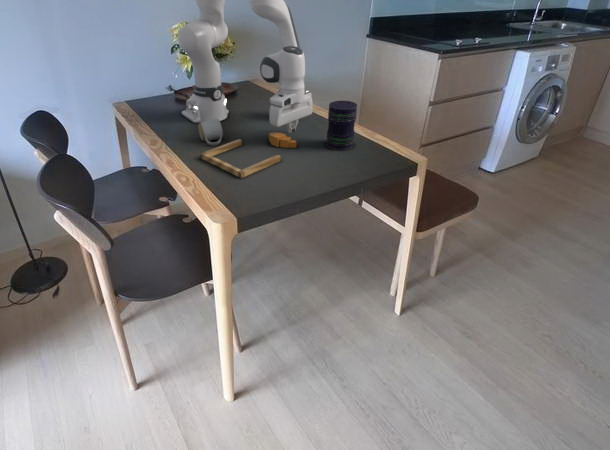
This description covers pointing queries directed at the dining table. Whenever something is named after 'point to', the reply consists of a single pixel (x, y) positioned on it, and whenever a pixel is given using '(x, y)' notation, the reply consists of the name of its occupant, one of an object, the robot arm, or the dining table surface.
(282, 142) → the orange block cluster
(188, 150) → the dining table surface
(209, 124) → the ceramic mug
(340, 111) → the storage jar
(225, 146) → the oak frame
